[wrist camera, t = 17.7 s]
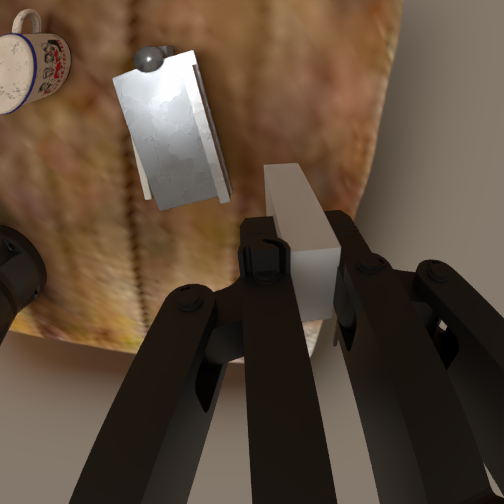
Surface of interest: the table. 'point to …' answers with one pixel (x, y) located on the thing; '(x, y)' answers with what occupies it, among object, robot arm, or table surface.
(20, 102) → the teacup with lid
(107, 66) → the table surface
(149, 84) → the cover
